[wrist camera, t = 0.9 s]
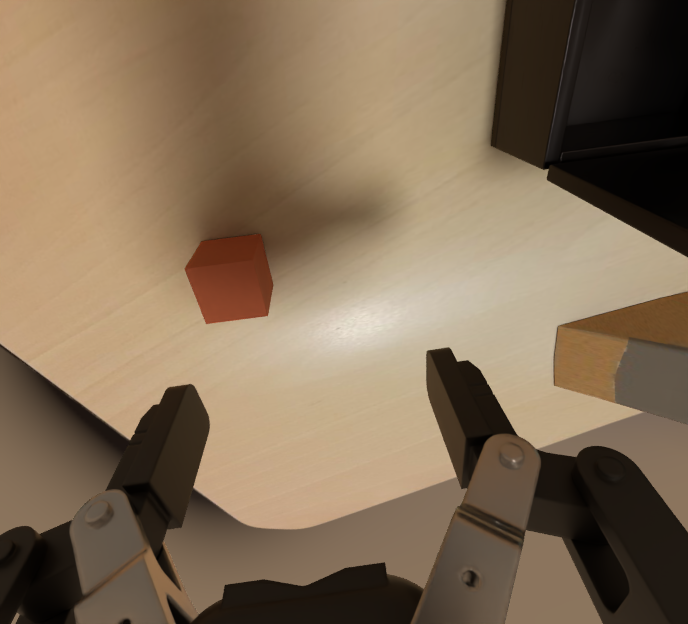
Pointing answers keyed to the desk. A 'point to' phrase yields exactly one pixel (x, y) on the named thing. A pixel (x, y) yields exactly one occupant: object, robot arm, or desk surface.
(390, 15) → the desk surface
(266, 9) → the desk surface
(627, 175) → the lid
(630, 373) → the sandwich container
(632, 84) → the dark brown box
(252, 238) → the block
